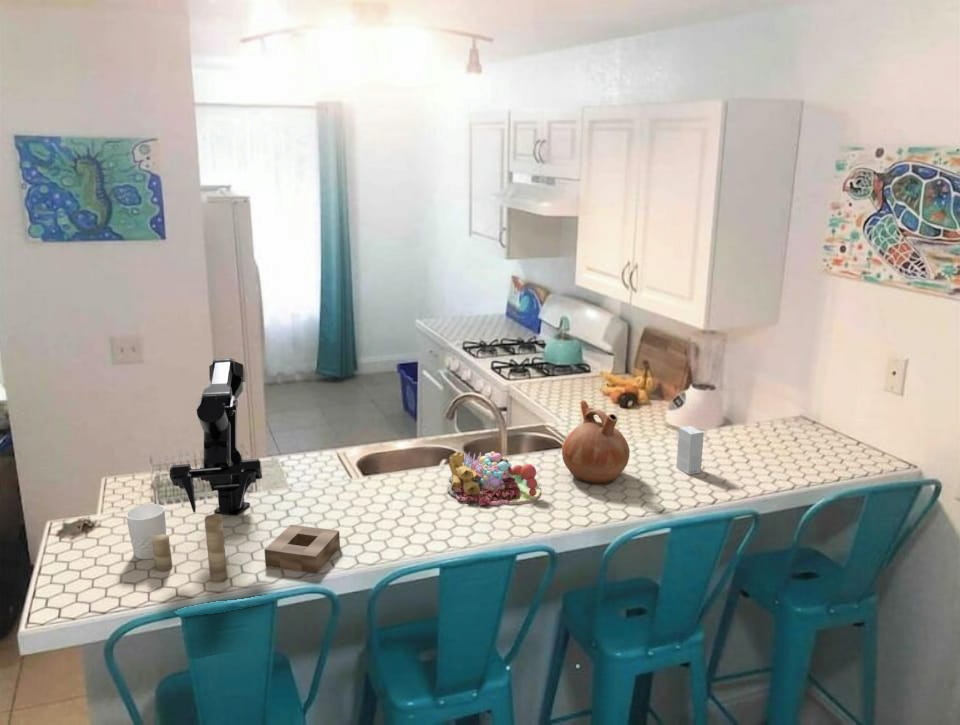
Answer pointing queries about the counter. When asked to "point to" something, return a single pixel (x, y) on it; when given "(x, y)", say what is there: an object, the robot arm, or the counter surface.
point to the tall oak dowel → (216, 548)
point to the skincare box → (690, 450)
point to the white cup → (145, 528)
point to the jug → (595, 448)
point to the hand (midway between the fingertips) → (216, 509)
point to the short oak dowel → (162, 552)
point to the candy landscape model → (492, 480)
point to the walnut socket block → (302, 548)
